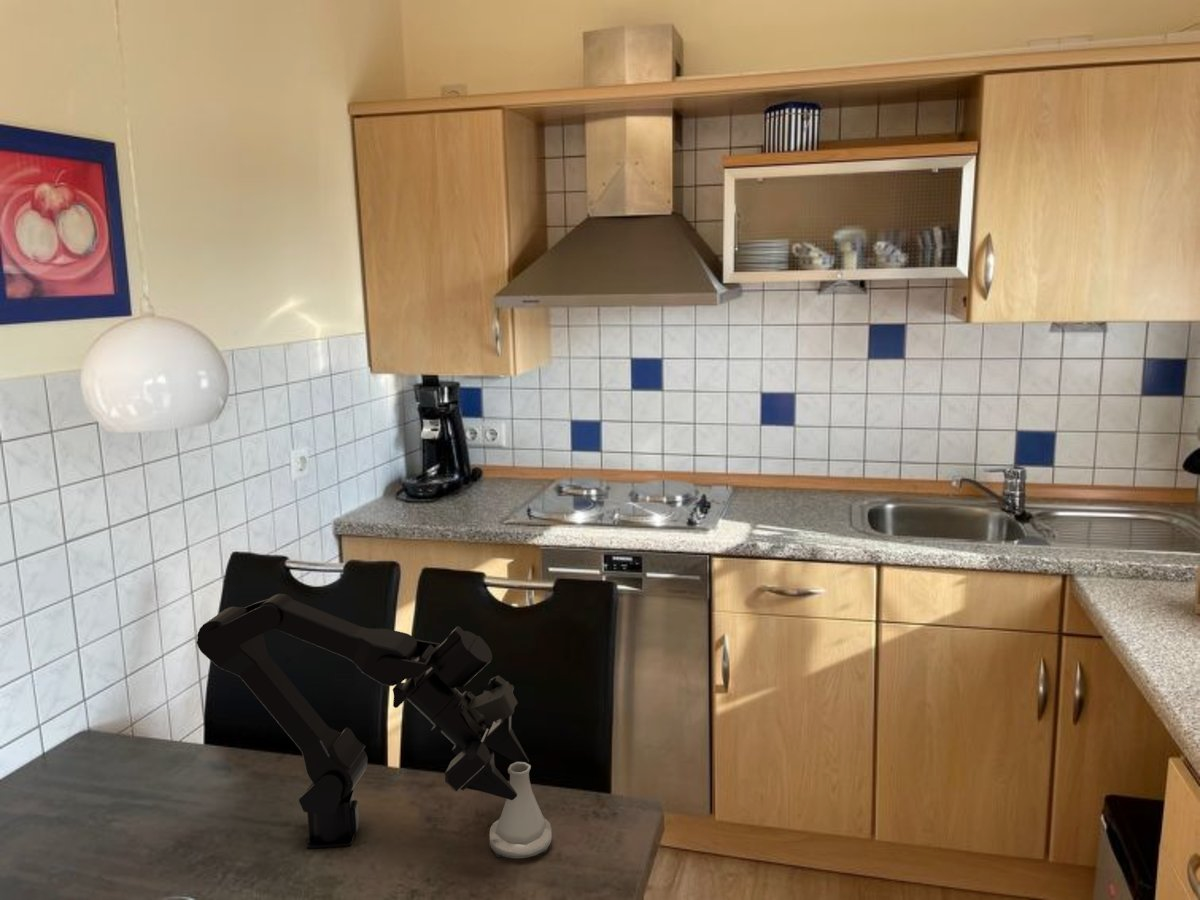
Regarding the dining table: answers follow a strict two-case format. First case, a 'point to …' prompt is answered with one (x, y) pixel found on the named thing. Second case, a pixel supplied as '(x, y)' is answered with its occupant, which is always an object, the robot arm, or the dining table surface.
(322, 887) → the dining table surface
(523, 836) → the flask
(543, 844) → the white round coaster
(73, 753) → the dining table surface
